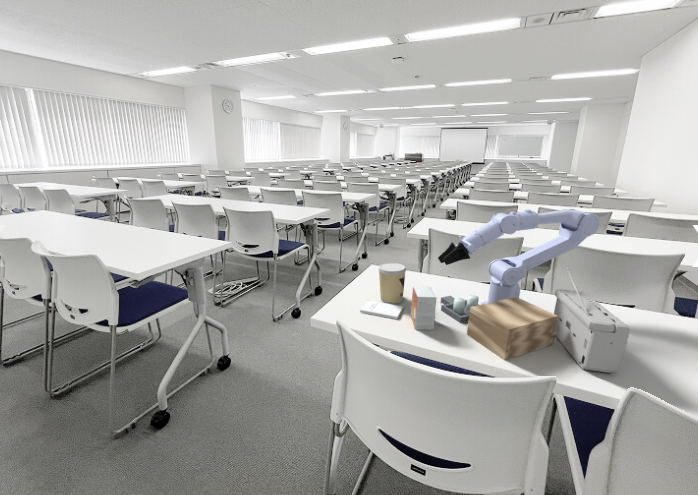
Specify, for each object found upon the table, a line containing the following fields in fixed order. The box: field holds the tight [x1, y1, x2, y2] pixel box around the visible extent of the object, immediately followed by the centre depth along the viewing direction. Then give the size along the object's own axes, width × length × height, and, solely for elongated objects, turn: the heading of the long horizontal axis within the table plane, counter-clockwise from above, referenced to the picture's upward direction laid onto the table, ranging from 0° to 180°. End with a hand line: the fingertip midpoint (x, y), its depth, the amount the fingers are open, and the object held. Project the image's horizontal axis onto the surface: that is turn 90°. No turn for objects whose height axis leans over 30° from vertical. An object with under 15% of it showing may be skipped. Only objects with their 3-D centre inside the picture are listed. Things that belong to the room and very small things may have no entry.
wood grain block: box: [466, 297, 558, 361], centre depth 90 cm, size 18×13×9 cm
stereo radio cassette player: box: [553, 267, 630, 374], centre depth 84 cm, size 21×8×20 cm, turn 170°
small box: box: [410, 285, 437, 331], centre depth 98 cm, size 8×6×10 cm
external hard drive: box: [359, 300, 404, 320], centre depth 107 cm, size 2×8×12 cm
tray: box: [440, 294, 480, 324], centre depth 108 cm, size 12×14×5 cm
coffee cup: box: [378, 262, 407, 305], centre depth 114 cm, size 9×9×12 cm
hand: (441, 261), depth 104 cm, fingers open, 7 cm apart
